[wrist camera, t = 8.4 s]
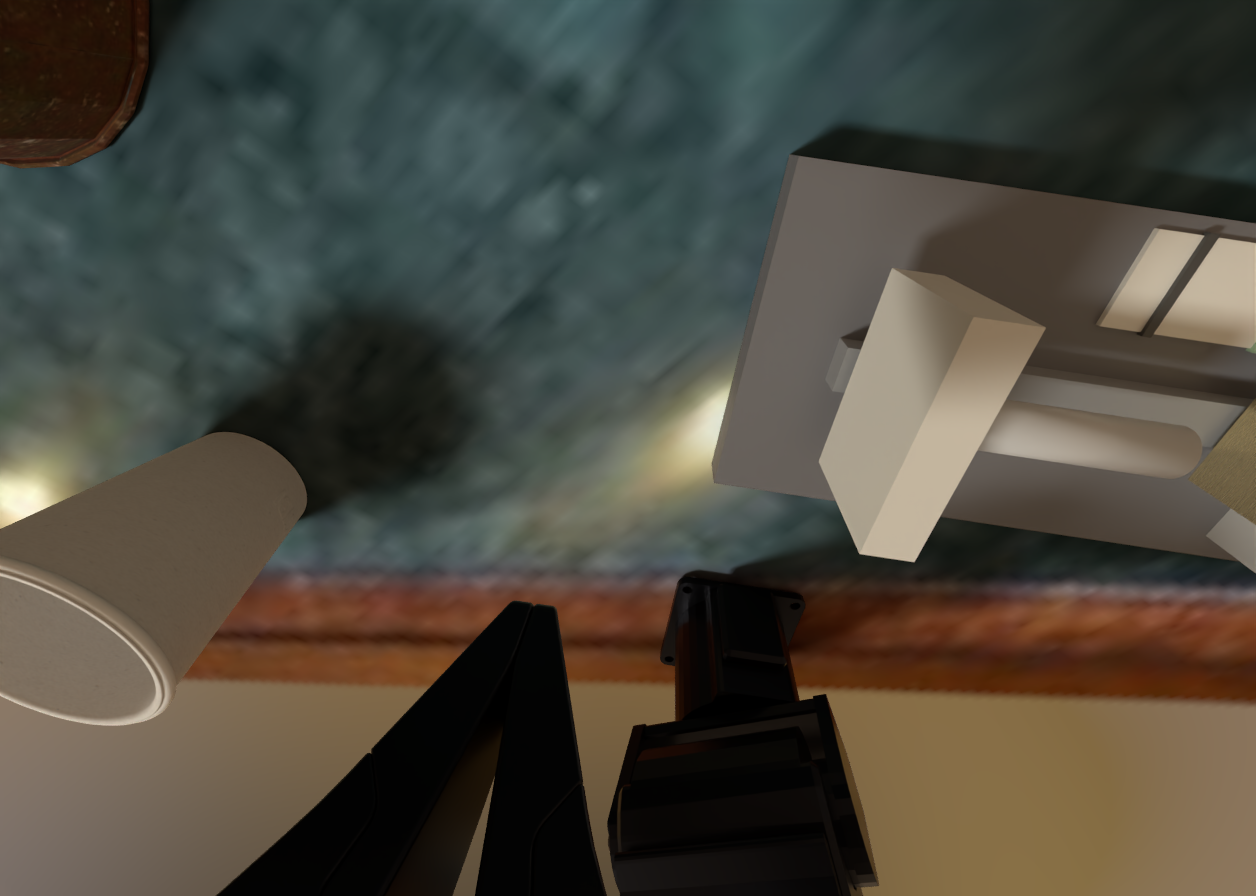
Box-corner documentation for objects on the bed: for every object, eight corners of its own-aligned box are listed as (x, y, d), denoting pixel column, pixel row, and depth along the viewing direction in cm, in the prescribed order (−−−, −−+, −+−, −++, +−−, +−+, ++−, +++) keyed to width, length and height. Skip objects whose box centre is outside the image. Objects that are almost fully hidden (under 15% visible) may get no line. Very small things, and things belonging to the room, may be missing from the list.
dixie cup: (317, 420, 23) (111, 584, 15) (345, 556, 28) (198, 744, 19) (135, 392, 23) (-177, 539, 15) (191, 533, 28) (-25, 709, 19)
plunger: (1053, 496, 19) (1161, 599, 15) (818, 461, 19) (859, 553, 15) (1181, 310, 16) (1372, 376, 11) (892, 267, 16) (973, 317, 11)
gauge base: (1249, 543, 23) (1517, 733, 16) (711, 463, 23) (728, 614, 16) (1528, 264, 17) (2188, 361, 9) (789, 154, 17) (877, 167, 9)
